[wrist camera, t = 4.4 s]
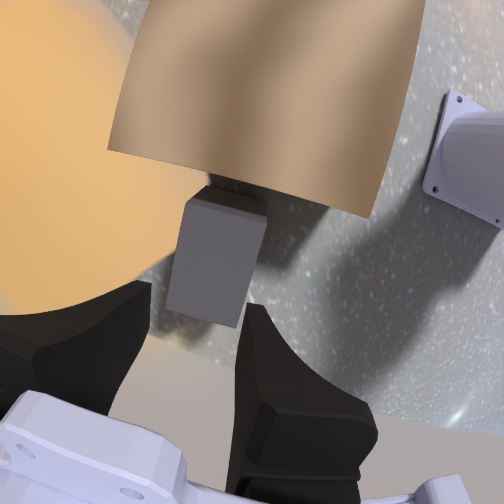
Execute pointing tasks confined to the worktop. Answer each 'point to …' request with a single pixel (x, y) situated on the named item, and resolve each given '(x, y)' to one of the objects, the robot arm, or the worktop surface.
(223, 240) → the grey upright cuboid
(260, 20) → the wooden tan block
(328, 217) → the worktop surface
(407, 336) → the worktop surface
